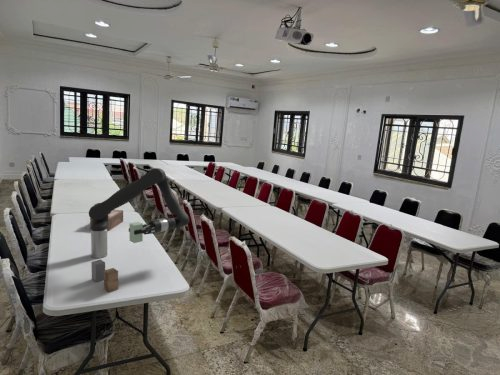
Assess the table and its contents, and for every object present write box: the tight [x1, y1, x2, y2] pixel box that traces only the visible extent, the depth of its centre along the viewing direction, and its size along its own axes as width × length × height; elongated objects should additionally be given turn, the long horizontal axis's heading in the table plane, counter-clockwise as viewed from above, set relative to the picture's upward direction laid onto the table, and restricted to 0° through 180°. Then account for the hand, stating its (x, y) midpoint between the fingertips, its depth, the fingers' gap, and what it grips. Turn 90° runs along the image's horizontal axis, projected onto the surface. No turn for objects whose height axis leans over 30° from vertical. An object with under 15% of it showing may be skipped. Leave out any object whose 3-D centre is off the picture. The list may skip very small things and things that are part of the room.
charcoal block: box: [91, 259, 106, 283], centre depth 183 cm, size 5×5×10 cm
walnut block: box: [103, 267, 119, 293], centre depth 174 cm, size 5×5×10 cm
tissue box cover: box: [89, 209, 124, 232], centre depth 272 cm, size 26×14×10 cm, turn 176°
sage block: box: [129, 221, 144, 244], centre depth 188 cm, size 5×5×10 cm
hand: (131, 231), depth 186 cm, fingers closed on sage block, 5 cm apart
